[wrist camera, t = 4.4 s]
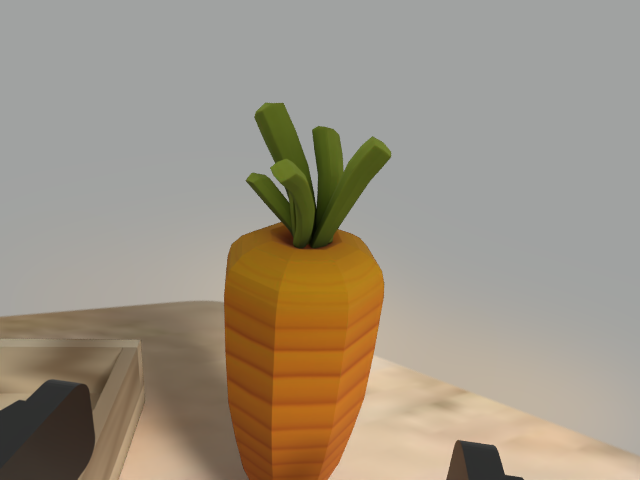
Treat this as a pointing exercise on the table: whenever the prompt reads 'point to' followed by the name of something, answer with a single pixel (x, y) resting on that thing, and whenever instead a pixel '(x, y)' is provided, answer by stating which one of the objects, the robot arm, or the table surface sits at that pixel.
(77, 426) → the robot arm
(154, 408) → the table surface
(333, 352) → the carrot
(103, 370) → the oak tray
